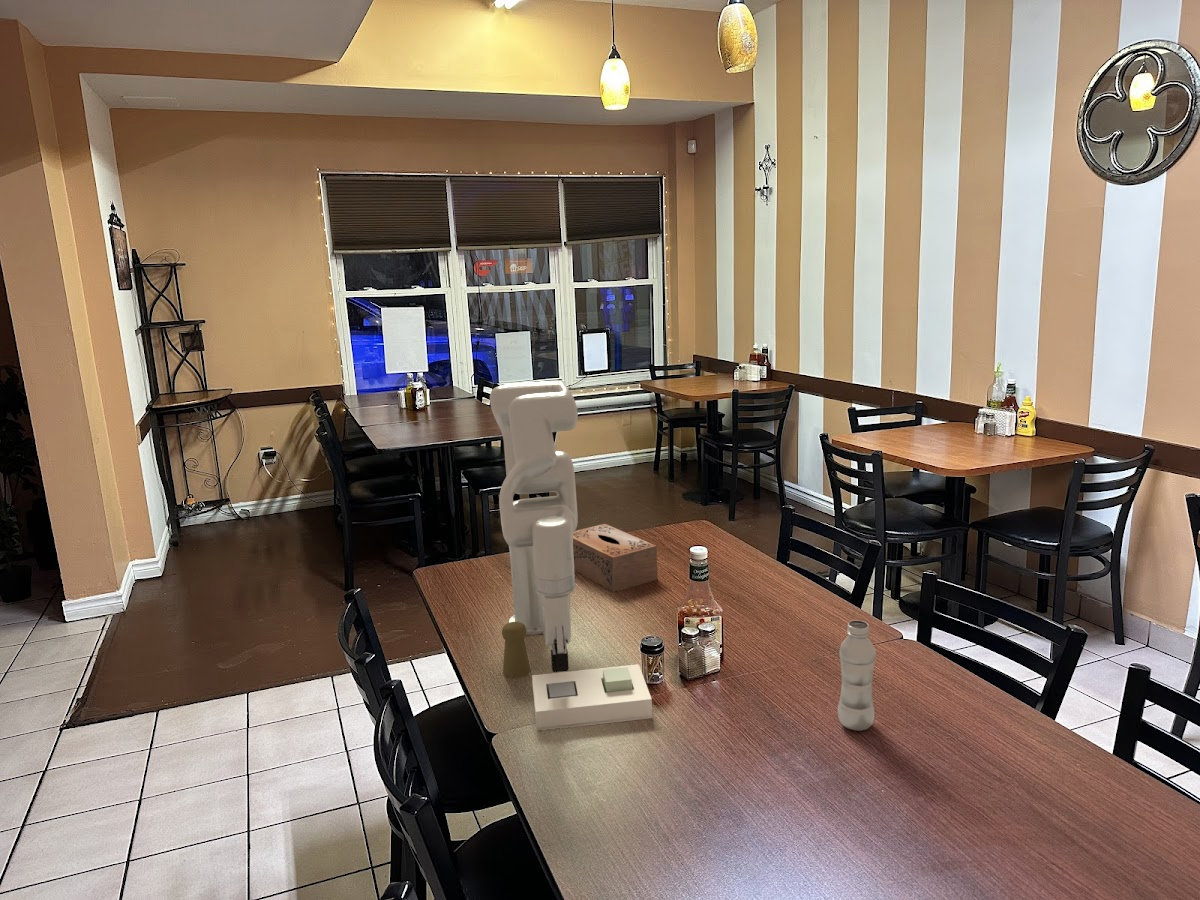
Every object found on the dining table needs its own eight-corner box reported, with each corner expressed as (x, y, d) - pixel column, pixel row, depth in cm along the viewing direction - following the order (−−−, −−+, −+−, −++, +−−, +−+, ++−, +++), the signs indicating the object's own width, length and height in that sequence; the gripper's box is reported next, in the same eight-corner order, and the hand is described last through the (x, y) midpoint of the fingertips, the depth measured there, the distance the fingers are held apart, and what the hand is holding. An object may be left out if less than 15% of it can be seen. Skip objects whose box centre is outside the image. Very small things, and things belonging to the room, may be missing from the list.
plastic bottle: (874, 718, 149) (877, 618, 145) (873, 738, 143) (877, 634, 138) (838, 713, 151) (840, 614, 147) (836, 732, 145) (838, 630, 140)
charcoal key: (549, 698, 159) (548, 684, 158) (574, 695, 160) (573, 681, 159) (550, 711, 154) (549, 697, 154) (576, 708, 155) (575, 694, 154)
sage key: (603, 683, 160) (602, 669, 159) (628, 680, 160) (627, 667, 160) (606, 696, 155) (606, 682, 154) (632, 693, 156) (631, 679, 155)
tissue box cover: (657, 580, 220) (656, 545, 218) (614, 593, 213) (612, 557, 211) (606, 555, 242) (604, 523, 239) (565, 566, 234) (563, 533, 232)
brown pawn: (526, 679, 169) (523, 631, 167) (499, 677, 170) (495, 629, 168) (534, 665, 175) (531, 618, 172) (508, 664, 176) (504, 617, 174)
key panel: (533, 693, 163) (531, 675, 162) (639, 681, 166) (638, 664, 165) (536, 731, 150) (535, 711, 149) (652, 718, 152) (651, 698, 151)
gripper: (533, 569, 158) (538, 653, 163) (537, 599, 144) (543, 691, 148) (571, 565, 159) (575, 650, 163) (579, 595, 145) (583, 687, 149)
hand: (560, 669), depth 156 cm, fingers closed
